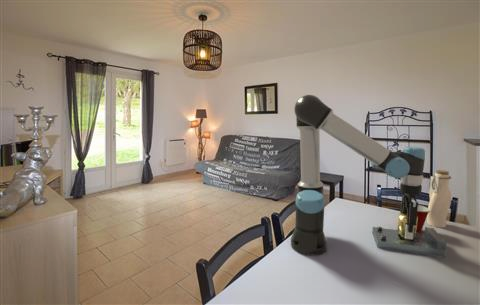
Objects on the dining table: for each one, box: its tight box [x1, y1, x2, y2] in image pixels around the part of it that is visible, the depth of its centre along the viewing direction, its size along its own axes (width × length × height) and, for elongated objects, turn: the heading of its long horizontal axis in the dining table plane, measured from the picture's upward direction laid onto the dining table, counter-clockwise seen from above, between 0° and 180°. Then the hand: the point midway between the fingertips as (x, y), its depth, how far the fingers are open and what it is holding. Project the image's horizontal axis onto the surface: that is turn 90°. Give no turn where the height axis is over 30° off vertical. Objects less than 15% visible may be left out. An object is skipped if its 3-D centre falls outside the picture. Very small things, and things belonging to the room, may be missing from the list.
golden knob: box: [397, 212, 418, 241], centre depth 110 cm, size 7×7×10 cm
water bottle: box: [426, 169, 452, 228], centre depth 128 cm, size 10×9×28 cm
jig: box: [371, 226, 447, 258], centre depth 111 cm, size 24×14×6 cm, turn 71°
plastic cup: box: [416, 204, 430, 233], centre depth 124 cm, size 11×11×12 cm
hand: (406, 234), depth 111 cm, fingers closed on golden knob, 7 cm apart
